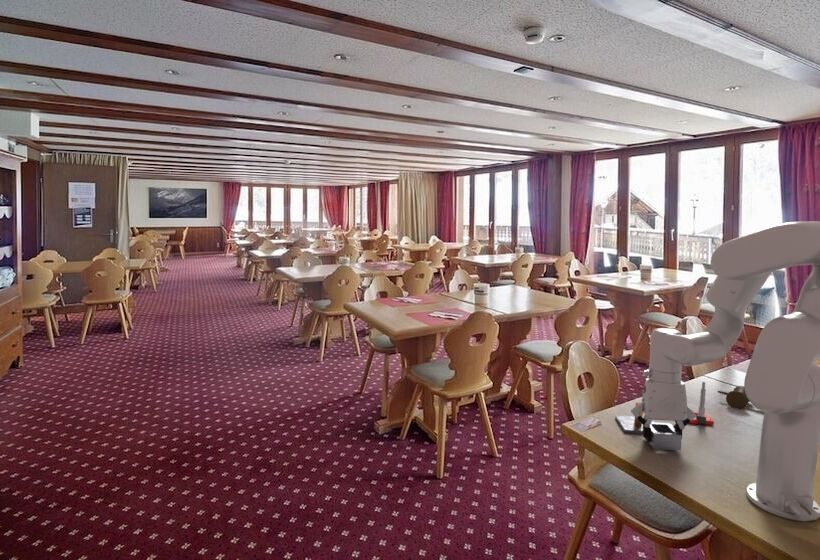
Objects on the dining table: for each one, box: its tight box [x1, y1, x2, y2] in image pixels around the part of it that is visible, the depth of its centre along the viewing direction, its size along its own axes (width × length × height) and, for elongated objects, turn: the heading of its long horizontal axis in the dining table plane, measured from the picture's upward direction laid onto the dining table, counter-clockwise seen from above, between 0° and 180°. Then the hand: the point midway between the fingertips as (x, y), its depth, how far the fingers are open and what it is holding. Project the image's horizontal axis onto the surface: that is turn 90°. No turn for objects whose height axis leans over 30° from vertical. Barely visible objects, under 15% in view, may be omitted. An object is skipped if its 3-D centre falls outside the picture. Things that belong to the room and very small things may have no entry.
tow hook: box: [688, 381, 715, 426], centre depth 145 cm, size 8×13×9 cm
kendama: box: [717, 385, 751, 410], centre depth 154 cm, size 6×10×20 cm
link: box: [648, 421, 683, 451], centre depth 128 cm, size 8×7×4 cm
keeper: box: [615, 402, 655, 435], centre depth 140 cm, size 10×10×7 cm
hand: (661, 440), depth 128 cm, fingers closed on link, 6 cm apart
